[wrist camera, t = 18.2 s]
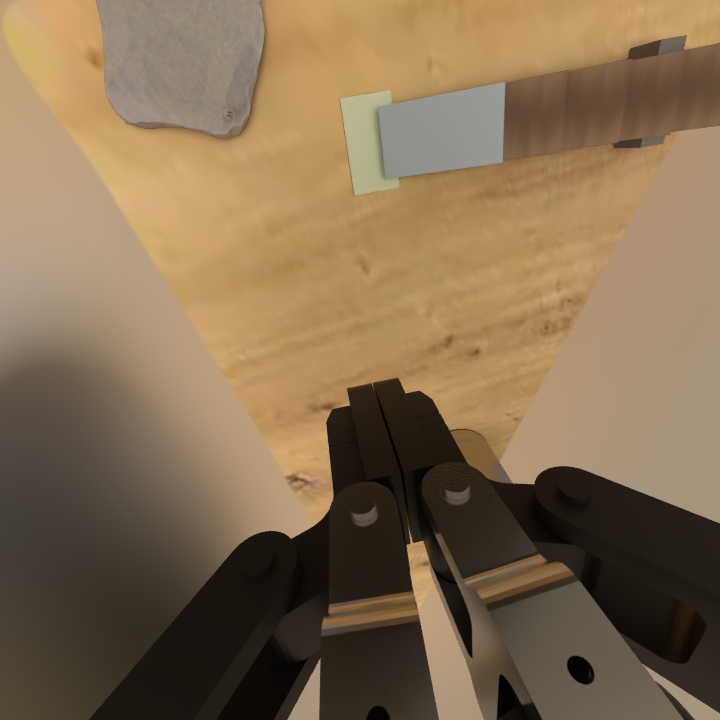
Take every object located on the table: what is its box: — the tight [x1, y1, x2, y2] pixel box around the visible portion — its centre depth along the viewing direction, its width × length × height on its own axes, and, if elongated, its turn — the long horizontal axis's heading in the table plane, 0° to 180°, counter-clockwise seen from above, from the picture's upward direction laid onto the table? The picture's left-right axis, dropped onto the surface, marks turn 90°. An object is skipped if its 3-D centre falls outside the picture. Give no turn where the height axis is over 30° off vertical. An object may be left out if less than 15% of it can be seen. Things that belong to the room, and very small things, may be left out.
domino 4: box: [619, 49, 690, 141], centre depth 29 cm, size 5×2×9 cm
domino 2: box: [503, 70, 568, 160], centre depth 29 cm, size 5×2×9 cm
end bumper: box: [614, 35, 687, 148], centre depth 31 cm, size 7×2×3 cm, turn 9°
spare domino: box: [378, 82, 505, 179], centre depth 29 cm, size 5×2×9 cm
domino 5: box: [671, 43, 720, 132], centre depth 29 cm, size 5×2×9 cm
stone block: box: [96, 0, 265, 138], centre depth 25 cm, size 12×5×10 cm
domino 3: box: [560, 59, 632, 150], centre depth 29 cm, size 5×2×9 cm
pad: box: [340, 90, 399, 196], centre depth 31 cm, size 7×4×1 cm, turn 9°
